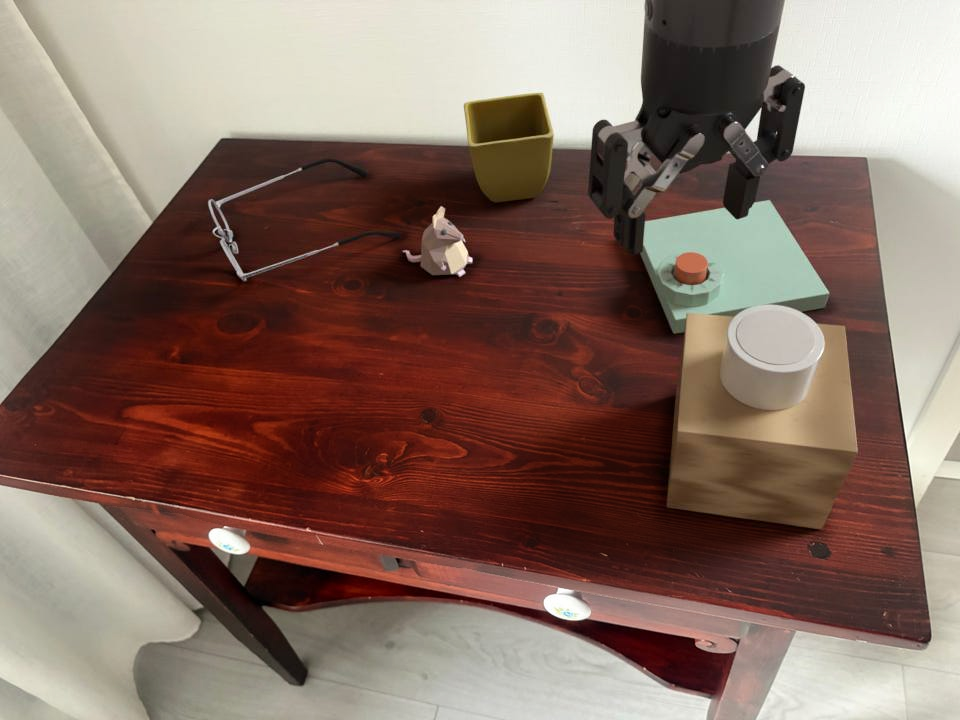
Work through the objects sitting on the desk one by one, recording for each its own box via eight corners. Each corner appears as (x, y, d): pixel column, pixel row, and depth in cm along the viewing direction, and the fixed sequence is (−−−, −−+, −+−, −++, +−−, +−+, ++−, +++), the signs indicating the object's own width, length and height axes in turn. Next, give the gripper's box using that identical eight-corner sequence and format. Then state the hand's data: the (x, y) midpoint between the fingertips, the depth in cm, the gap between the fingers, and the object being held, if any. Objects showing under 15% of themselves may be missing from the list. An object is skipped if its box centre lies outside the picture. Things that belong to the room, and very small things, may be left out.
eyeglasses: (214, 221, 88) (197, 186, 84) (364, 170, 91) (354, 133, 87) (240, 305, 78) (222, 269, 74) (408, 244, 81) (399, 206, 77)
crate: (814, 409, 61) (845, 325, 54) (821, 529, 54) (858, 452, 47) (675, 394, 64) (686, 312, 56) (666, 507, 57) (677, 430, 50)
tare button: (710, 282, 68) (712, 269, 67) (679, 288, 68) (681, 275, 67) (700, 262, 70) (701, 249, 68) (670, 267, 70) (671, 255, 68)
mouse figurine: (414, 237, 82) (402, 185, 77) (479, 252, 79) (472, 200, 74) (390, 267, 79) (376, 216, 74) (457, 285, 76) (447, 233, 71)
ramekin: (828, 372, 51) (843, 331, 48) (780, 426, 49) (792, 387, 46) (751, 331, 54) (760, 290, 51) (701, 379, 52) (708, 340, 49)
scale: (825, 308, 68) (834, 279, 66) (669, 335, 68) (672, 307, 66) (766, 214, 78) (772, 186, 75) (629, 238, 78) (631, 210, 75)
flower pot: (547, 160, 88) (543, 90, 81) (557, 206, 82) (554, 134, 76) (473, 171, 88) (463, 101, 82) (478, 217, 83) (468, 146, 76)
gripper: (631, 73, 39) (619, 293, 51) (864, 2, 41) (799, 229, 54) (569, 15, 44) (572, 229, 56) (782, -47, 46) (739, 173, 58)
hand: (683, 229), depth 55 cm, fingers open, 8 cm apart
